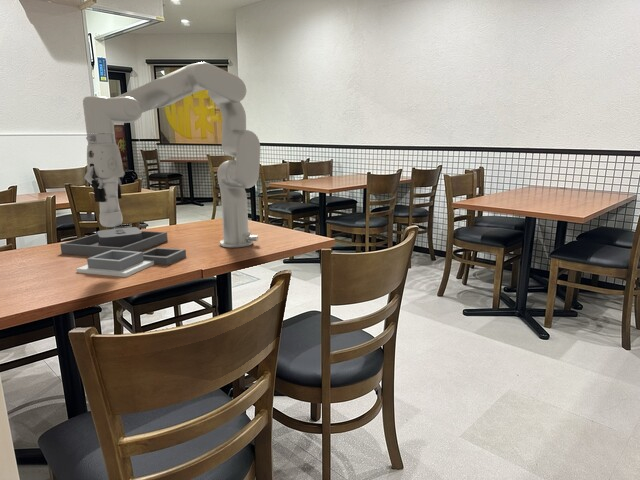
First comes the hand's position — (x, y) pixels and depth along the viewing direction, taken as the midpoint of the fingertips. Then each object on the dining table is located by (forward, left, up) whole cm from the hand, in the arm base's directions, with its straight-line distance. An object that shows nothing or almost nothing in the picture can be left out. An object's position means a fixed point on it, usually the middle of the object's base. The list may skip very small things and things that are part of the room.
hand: (108, 199), depth 136 cm
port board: (0, 0, -22) cm, 22 cm away
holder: (-8, -12, -22) cm, 26 cm away
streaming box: (+18, -24, -22) cm, 37 cm away
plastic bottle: (0, 0, -9) cm, 9 cm away
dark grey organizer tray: (+19, -23, -22) cm, 37 cm away
